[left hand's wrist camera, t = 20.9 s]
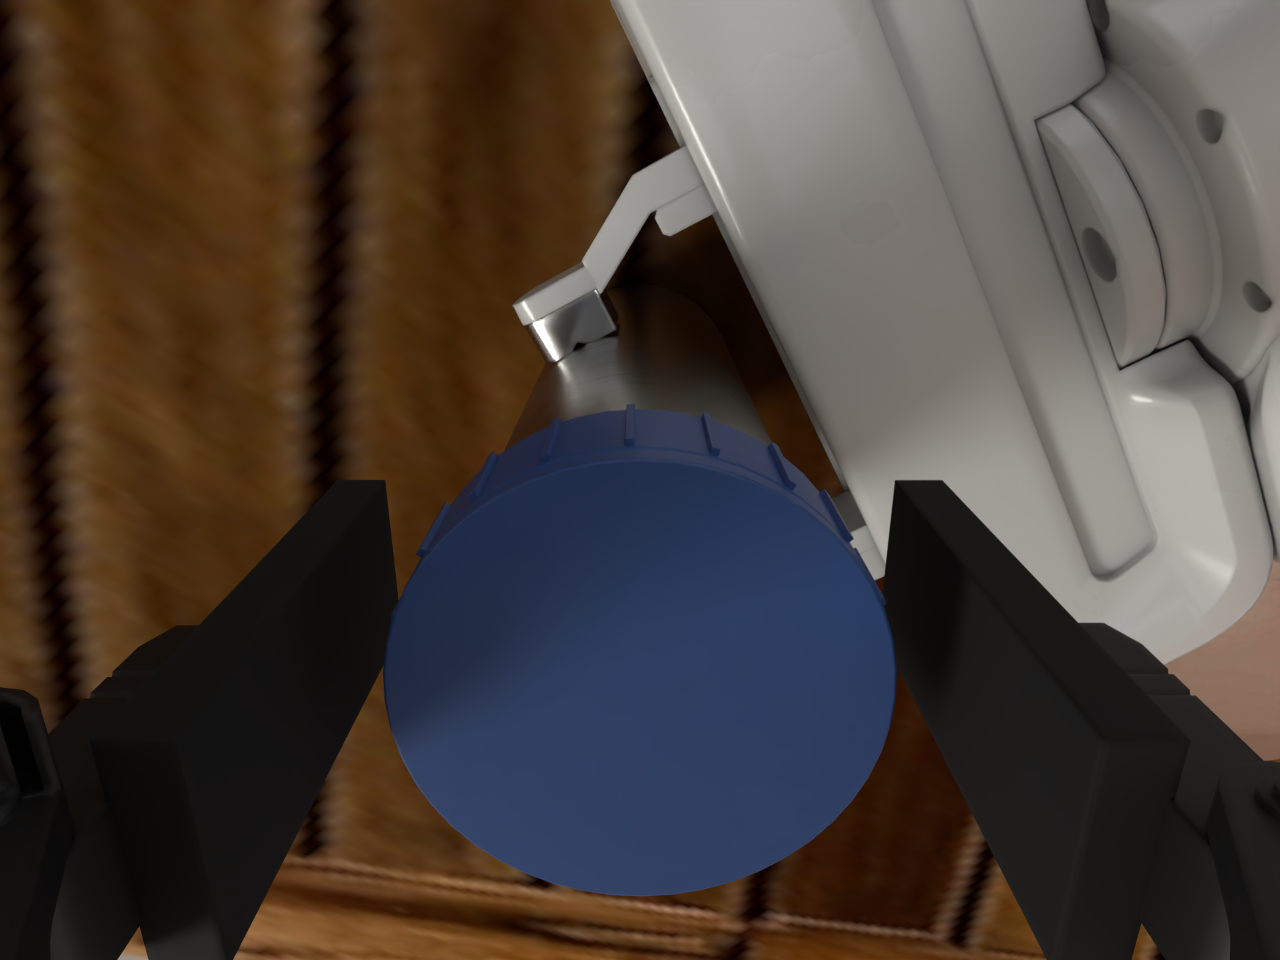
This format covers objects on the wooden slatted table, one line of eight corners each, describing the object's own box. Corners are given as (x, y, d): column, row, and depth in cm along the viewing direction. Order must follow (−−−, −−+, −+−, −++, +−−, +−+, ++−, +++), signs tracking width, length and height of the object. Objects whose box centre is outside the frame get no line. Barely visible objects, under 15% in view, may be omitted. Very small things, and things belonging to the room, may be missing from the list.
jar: (556, 274, 25) (431, 443, 10) (741, 293, 25) (890, 487, 10) (545, 450, 27) (425, 814, 12) (716, 466, 27) (812, 845, 12)
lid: (904, 432, 11) (959, 488, 9) (814, 811, 13) (844, 920, 11) (426, 377, 11) (381, 423, 9) (413, 772, 13) (374, 877, 11)
